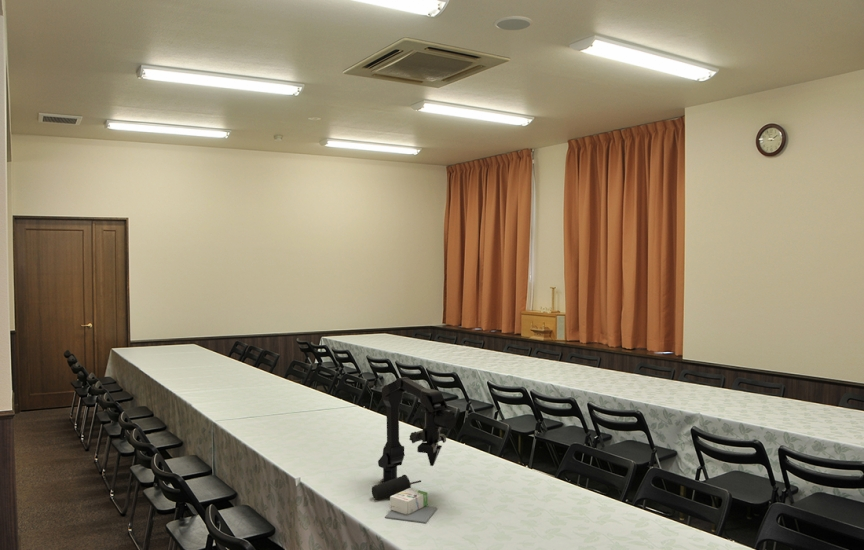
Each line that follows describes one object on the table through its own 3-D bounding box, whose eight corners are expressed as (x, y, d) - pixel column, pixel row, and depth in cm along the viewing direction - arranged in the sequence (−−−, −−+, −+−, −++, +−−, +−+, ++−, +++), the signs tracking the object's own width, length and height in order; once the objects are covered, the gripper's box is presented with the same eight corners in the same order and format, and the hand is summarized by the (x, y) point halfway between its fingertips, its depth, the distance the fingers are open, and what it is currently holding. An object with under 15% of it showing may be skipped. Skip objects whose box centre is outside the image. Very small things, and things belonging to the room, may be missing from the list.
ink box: (427, 492, 233) (407, 501, 223) (427, 505, 233) (407, 515, 223) (409, 487, 238) (389, 496, 228) (409, 500, 238) (389, 509, 228)
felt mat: (398, 504, 235) (398, 502, 235) (437, 508, 231) (437, 507, 231) (384, 518, 222) (384, 516, 222) (426, 523, 217) (426, 521, 217)
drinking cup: (369, 481, 243) (415, 469, 253) (371, 501, 243) (417, 489, 252) (377, 483, 237) (424, 472, 246) (379, 504, 236) (426, 492, 246)
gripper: (419, 417, 252) (419, 456, 253) (404, 428, 235) (403, 470, 235) (446, 419, 249) (446, 459, 249) (433, 431, 231) (432, 473, 231)
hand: (432, 465), depth 241 cm, fingers closed
